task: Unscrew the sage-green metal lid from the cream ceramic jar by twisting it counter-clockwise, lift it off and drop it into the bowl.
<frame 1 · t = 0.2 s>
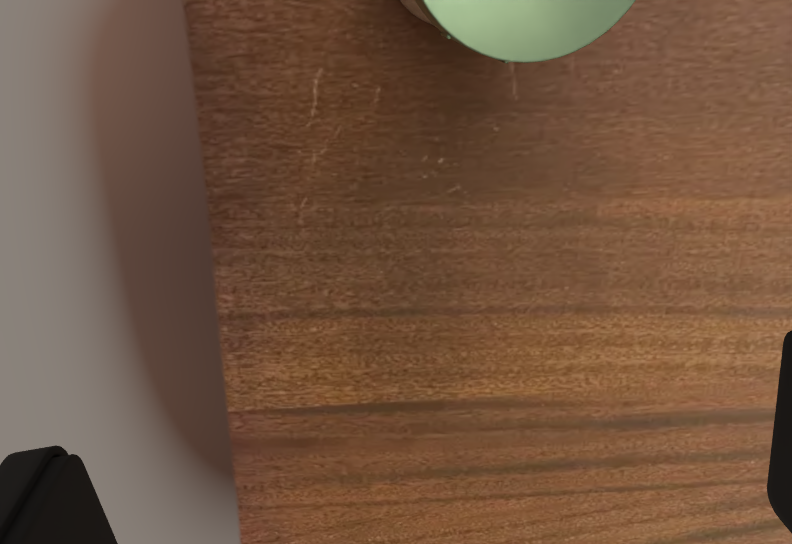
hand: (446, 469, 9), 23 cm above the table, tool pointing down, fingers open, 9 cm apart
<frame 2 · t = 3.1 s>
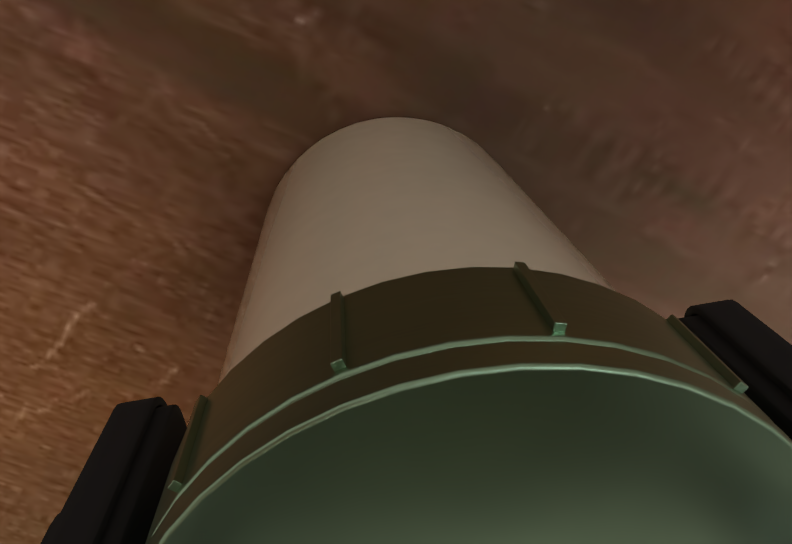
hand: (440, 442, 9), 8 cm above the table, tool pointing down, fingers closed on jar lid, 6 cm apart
jar: (394, 247, 16), on the table
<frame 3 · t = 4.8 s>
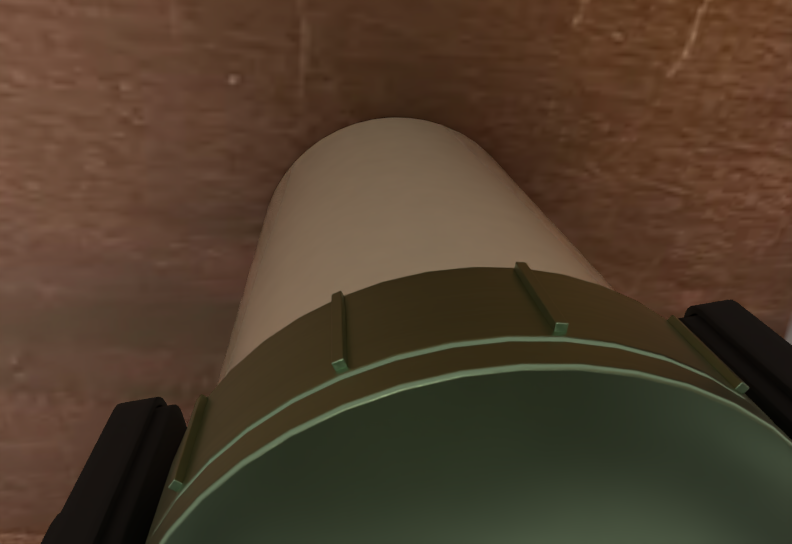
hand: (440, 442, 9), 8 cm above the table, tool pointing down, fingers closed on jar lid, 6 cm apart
jar: (394, 248, 16), on the table
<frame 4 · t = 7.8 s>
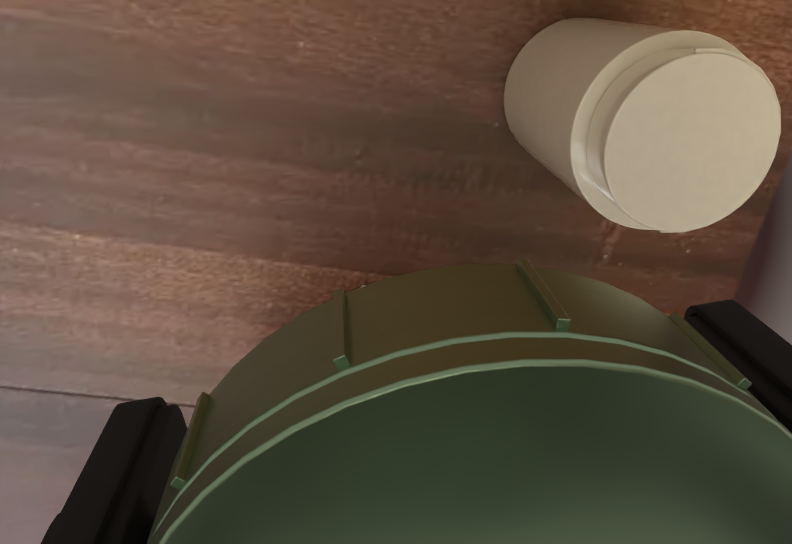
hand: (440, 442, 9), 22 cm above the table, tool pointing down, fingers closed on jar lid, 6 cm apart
jar: (574, 94, 29), on the table
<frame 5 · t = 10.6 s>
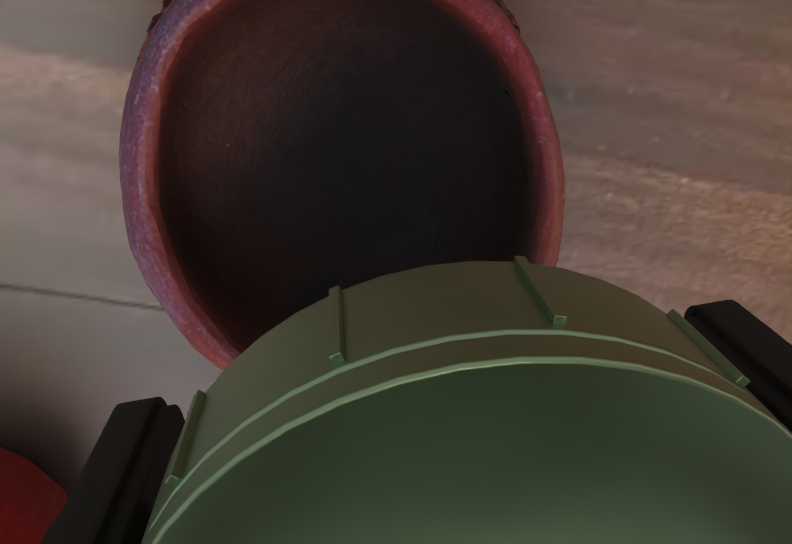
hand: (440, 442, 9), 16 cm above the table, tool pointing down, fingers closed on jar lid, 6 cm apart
bowl: (380, 169, 24), on the table
when the fingers open (11 cm above the table, at t = 12.6 s): jar lid drops 5 cm, resting on bowl.
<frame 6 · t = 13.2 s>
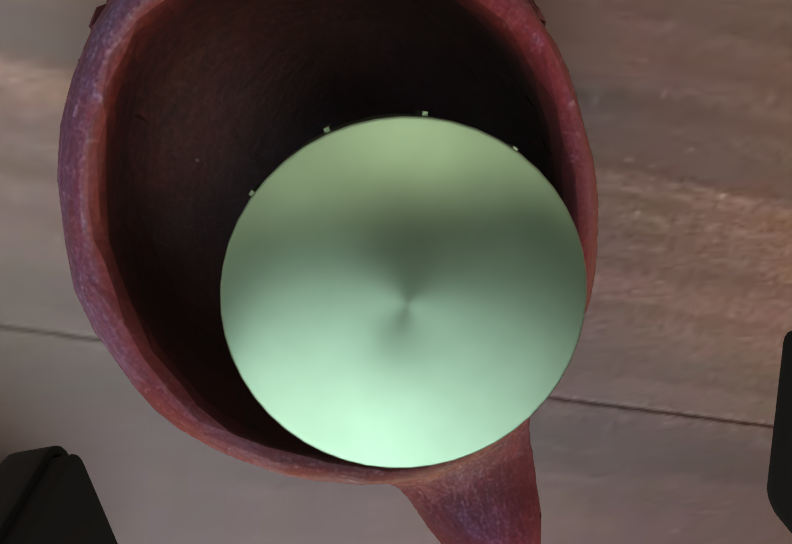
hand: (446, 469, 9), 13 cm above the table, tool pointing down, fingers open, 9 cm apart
jar lid: (405, 298, 13), point 9 cm above the table, tilted 9°, off its thread, touching bowl
bowl: (375, 185, 21), on the table, touching jar lid
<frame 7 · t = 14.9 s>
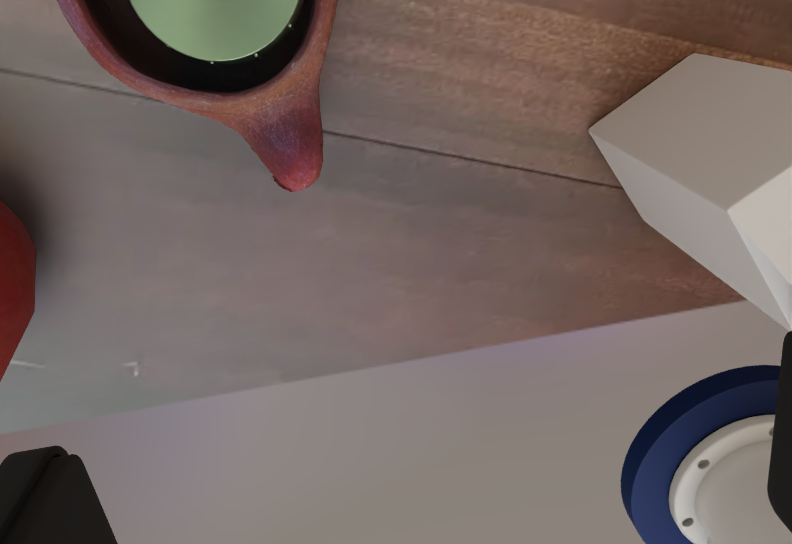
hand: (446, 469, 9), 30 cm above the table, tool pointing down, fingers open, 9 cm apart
milk carton: (664, 139, 39), on the table
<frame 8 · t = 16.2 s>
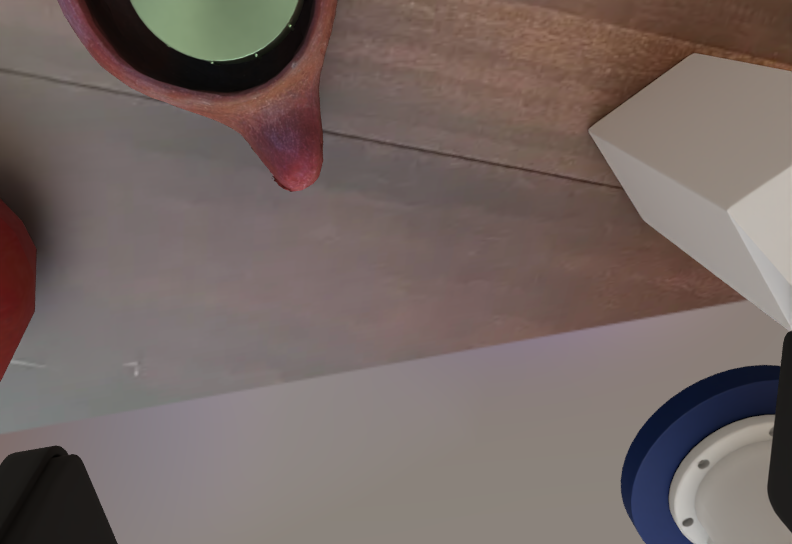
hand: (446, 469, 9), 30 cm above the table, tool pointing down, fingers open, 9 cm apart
milk carton: (664, 139, 39), on the table
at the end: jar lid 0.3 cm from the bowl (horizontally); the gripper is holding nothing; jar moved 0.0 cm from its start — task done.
